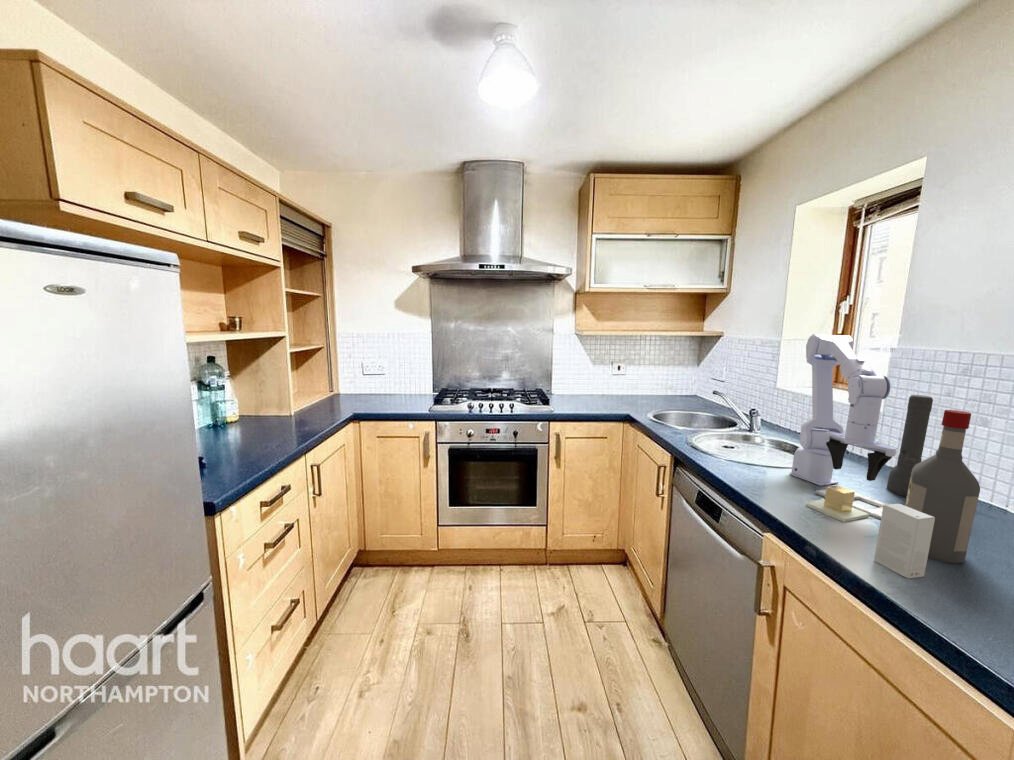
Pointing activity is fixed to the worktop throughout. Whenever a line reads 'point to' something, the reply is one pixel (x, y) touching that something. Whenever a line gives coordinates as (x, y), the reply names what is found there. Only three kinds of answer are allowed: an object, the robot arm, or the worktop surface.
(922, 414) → the flashlight
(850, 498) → the light wood cube
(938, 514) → the liquor
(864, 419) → the robot arm
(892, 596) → the worktop surface
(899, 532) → the skincare box
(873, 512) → the rail plate
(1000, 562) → the worktop surface
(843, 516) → the tile
